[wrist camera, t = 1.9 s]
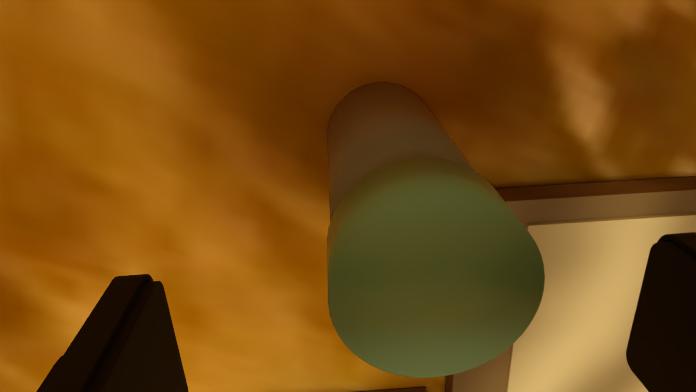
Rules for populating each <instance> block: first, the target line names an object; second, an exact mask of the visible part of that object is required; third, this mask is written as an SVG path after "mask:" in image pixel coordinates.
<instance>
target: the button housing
mask: <svg viewBox="0 0 696 392" xmlns="http://www.w3.org/2000/svg"><path fill="white" fill-rule="evenodd" d="M363 392H427V391H426V387H418V388H405V389H391V390H377V391H363Z"/></svg>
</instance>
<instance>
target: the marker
mask: <svg viewBox="0 0 696 392" xmlns="http://www.w3.org/2000/svg"><path fill="white" fill-rule="evenodd" d="M327 144H328V171H329V198H330V226H329V229H328V236H327V272H328V305H329V312H330V316H331V319H332V322H333V325H334V327H335V329H336V331H337V333H338V335H339V337H340V338H341V339H342V341H343V342H344V344H345V345H346V346H347V347H348V348H349V349H350V350H351V351H352V352H353V353H354V354H355V355H357V356H358V357H359V358H361V359H362V360H363V361H365V362H367V363H368V364H370V365H372V366H374V367H376V368H378V369H381V370H383V371H386V372H389V373H393V374H396V375H402V376H407V377H419V378H427V377H441V376H448V375H452V374H457V373H461V372H464V371H467V370H470V369H473V368H475V367H477V366H480V365H482V364H484V363H486V362H488V361H490V360H491V359H493V358H495V357H496V356H498V355H499V354H501V353H502V352H504V351H505V350H506V349H507V348H509V347H510V346H511V345H512V344H513V343H514V342H516V340H517V339H518V338H519V337H520V336H521V335H522V334H523V333H524V332H525V330H526V329H527V327H528V326H529V325H530V323H531V322H532V320H533V318H534V316H535V315H536V313H537V311H538V308H539V305H540V303H541V300H542V296H543V291H544V283H545V272H544V264H543V260H542V256H541V253H540V251H539V248H538V246H537V244H536V242H535V240H534V239H533V237H532V236H531V234H530V233H529V232H528V230H527V229H526V228H525V227H524V225H523V224H522V223H521V221H520V220H519V219H518V218H517V216H516V215H515V214H514V213H513V211H512V210H511V209H510V207H509V206H508V205H507V204H506V202H505V201H504V200H503V199H502V197H501V196H500V195H499V193H498V192H497V191H496V190H495V188H494V187H493V186H492V185H491V184H490V183H489V182H488V181H487V180H486V179H485V178H484V177H482V176H481V175H480V174H479V173H477V172H476V171H475V170H474V168H473V167H472V166H471V164H470V163H469V162H468V161H467V159H466V158H465V157H464V155H463V154H462V153H461V151H460V150H459V149H458V147H457V146H456V145H455V143H454V142H453V141H452V139H451V138H450V137H449V135H448V134H447V133H446V132H445V130H444V129H443V128H442V126H441V125H440V124H439V122H438V121H437V120H436V118H435V117H434V116H433V114H432V113H431V112H430V110H429V109H428V108H427V107H426V105H425V104H424V103H423V101H422V100H421V99H420V98H419V97H418V96H417V95H416V94H415V93H413V92H412V91H410V90H409V89H407V88H405V87H403V86H400V85H397V84H393V83H381V82H379V83H372V84H368V85H364V86H362V87H359V88H357V89H355V90H354V91H352V92H350V93H349V94H348V95H346V96H345V97H344V98H343V99H342V100H341V101H340V103H339V104H338V105H337V106H336V108H335V110H334V111H333V113H332V116H331V118H330V121H329V125H328V131H327Z"/></svg>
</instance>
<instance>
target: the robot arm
mask: <svg viewBox="0 0 696 392" xmlns="http://www.w3.org/2000/svg"><path fill="white" fill-rule="evenodd" d="M626 359H627V363H628V365H629V367H630V369H631V370H632V372H633V373H634V374H635V376H636V377H637V378H638V379H639V380H640V382H641V383H642V384H643V385H644V387H645V388H646V389H647V390H648V391H649V392H696V232H689V233H676V234H665V235H663V236H661V238H660V239H659V240H658V242H657V243H655V244H653V245H652V247H651V249H650V252H649V257H648V261H647V265H646V269H645V273H644V278H643V282H642V286H641V290H640V294H639V299H638V303H637V307H636V311H635V315H634V320H633V324H632V328H631V332H630V336H629V340H628V345H627V349H626ZM37 392H188V387H187V383H186V378H185V374H184V370H183V366H182V362H181V358H180V353H179V349H178V345H177V341H176V337H175V333H174V328H173V324H172V320H171V316H170V312H169V307H168V303H167V299H166V295H165V291H164V287H163V284H162V283H161V282H160V281H153V279H152V278H151V276H150V275H148V274H142V275H129V276H118V277H115V278H114V279H113V280H112V281H111V283H110V284H109V286H108V288H107V289H106V291H105V292H104V294H103V295H102V297H101V298H100V300H99V301H98V303H97V304H96V306H95V308H94V309H93V311H92V312H91V314H90V315H89V317H88V318H87V320H86V321H85V323H84V324H83V326H82V328H81V329H80V331H79V332H78V334H77V335H76V337H75V338H74V340H73V341H72V343H71V344H70V346H69V347H68V349H67V351H66V352H65V354H64V355H63V356H61V357H60V358H59V360H58V361H57V362H56V363H55V365H54V366H53V368H52V369H51V371H50V372H49V374H48V375H47V377H46V378H45V380H44V381H43V383H42V384H41V386H40V387H39V389H38V390H37Z"/></svg>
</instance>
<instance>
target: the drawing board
mask: <svg viewBox="0 0 696 392" xmlns="http://www.w3.org/2000/svg"><path fill="white" fill-rule="evenodd" d="M495 190H496V191H497V192H498V193H499V195H500V196H501V197H502V199H503V200H504V201H505V202H506V204H507V205H508V206H509V207H510V209H511V210H512V211H513V213H514V214H515V215H516V216H517V218H518V219H519V220H520V221H521V223H522V224H523V225H524V227H525V228H526V229H527V230H528V232H529V233H530V234H531V236H532V237H533V239H534V240H535V242H536V244H537V246H538V248H539V251H540V253H541V256H542V260H543V264H544V272H545V283H544V291H543V296H542V300H541V303H540V305H539V308H538V311H537V313H536V315H535V316H534V318H533V320H532V322H531V323H530V325H529V326H528V327H527V329H526V330H525V332H524V333H523V334H522V335H521V336H520V337H519V338H518V339H517V340H516V342H514V343H513V344H512V345H511V346H510V347H509V348H507V349H506V350H505V351H504V352H502V353H501V354H499V355H498V356H496V357H495V358H493V359H491V360H490V361H488V362H486V363H484V364H482V365H480V366H477V367H475V368H473V369H470V370H467V371H464V372H461V373H457V374H452V375H448V376H446V389H445V392H649V391H648V390H647V389H646V388H645V387H644V385H643V384H642V383H641V382H640V380H639V379H638V378H637V377H636V376H635V374H634V373H633V372H632V370H631V369H630V367H629V365H628V363H627V359H626V349H627V345H628V340H629V336H630V332H631V328H632V324H633V320H634V315H635V311H636V307H637V303H638V299H639V294H640V290H641V286H642V282H643V278H644V273H645V269H646V265H647V261H648V257H649V252H650V249H651V247H652V245H653V244H655V243H657V242H658V240H659V239H660V238H661V236H663V235H665V234H676V233H689V232H696V176H692V177H676V178H660V179H644V180H628V181H612V182H595V183H579V184H563V185H547V186H531V187H515V188H499V189H495Z"/></svg>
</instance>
